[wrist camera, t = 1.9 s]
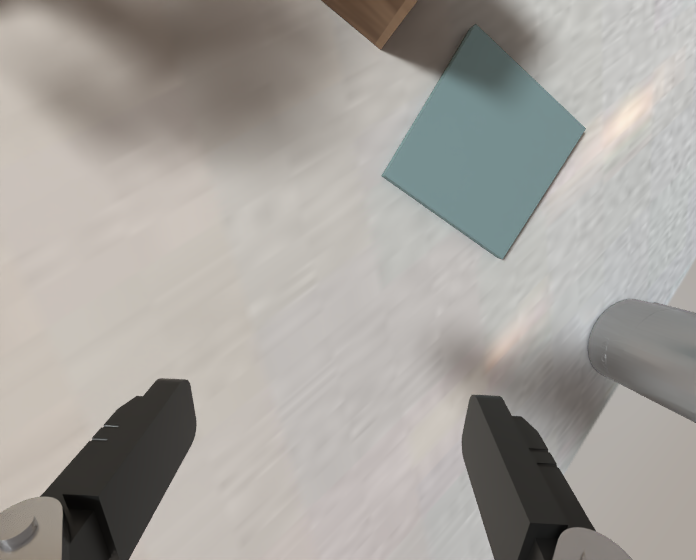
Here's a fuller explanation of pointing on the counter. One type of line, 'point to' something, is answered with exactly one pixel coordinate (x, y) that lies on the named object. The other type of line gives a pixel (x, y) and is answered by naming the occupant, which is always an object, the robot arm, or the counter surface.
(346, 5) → the walnut cover
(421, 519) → the counter surface
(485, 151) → the teal mat
